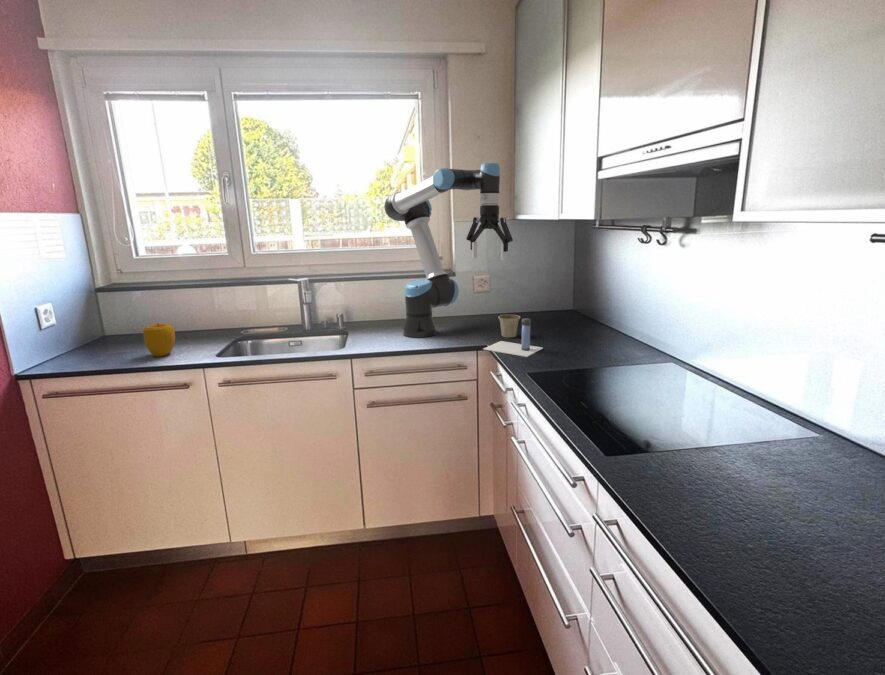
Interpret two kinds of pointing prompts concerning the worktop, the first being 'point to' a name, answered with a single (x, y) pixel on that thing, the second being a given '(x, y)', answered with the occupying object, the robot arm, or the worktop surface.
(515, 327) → the flower pot
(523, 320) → the cylinder
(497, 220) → the robot arm
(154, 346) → the apple
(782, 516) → the worktop surface
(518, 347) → the paper
